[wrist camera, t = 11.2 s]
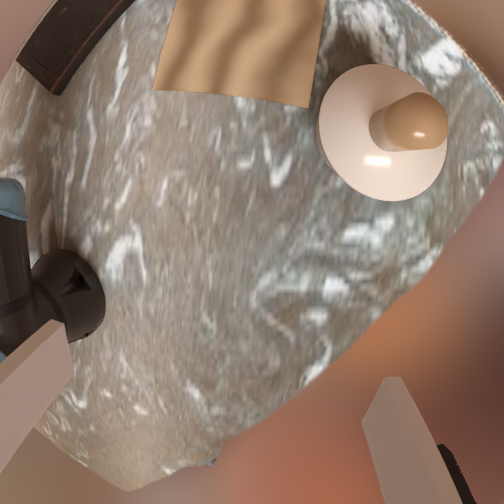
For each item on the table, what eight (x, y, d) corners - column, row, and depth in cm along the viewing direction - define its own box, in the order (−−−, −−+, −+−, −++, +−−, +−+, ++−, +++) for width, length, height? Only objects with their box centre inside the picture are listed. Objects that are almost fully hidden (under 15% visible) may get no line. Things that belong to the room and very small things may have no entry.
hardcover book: (23, 62, 32) (15, 60, 29) (102, -36, 26) (96, -41, 24) (61, 96, 34) (53, 94, 32) (156, -17, 28) (151, -24, 26)
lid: (307, 184, 27) (322, 191, 19) (326, 52, 24) (344, 14, 15) (431, 212, 27) (477, 229, 19) (446, 91, 23) (490, 76, 15)
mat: (153, 89, 33) (152, 89, 32) (187, -24, 27) (187, -25, 27) (307, 108, 32) (308, 107, 32) (326, -12, 27) (327, -13, 26)
